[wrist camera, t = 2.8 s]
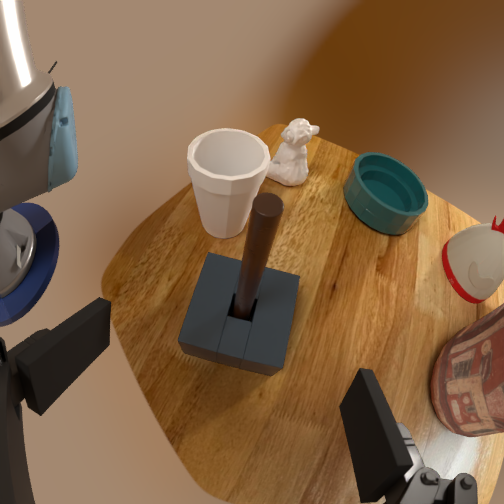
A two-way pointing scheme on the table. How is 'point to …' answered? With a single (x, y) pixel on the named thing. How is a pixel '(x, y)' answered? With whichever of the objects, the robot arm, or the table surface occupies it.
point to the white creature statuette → (292, 154)
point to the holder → (237, 330)
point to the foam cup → (226, 177)
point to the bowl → (385, 193)
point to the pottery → (472, 378)
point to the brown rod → (257, 250)
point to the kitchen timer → (475, 261)
